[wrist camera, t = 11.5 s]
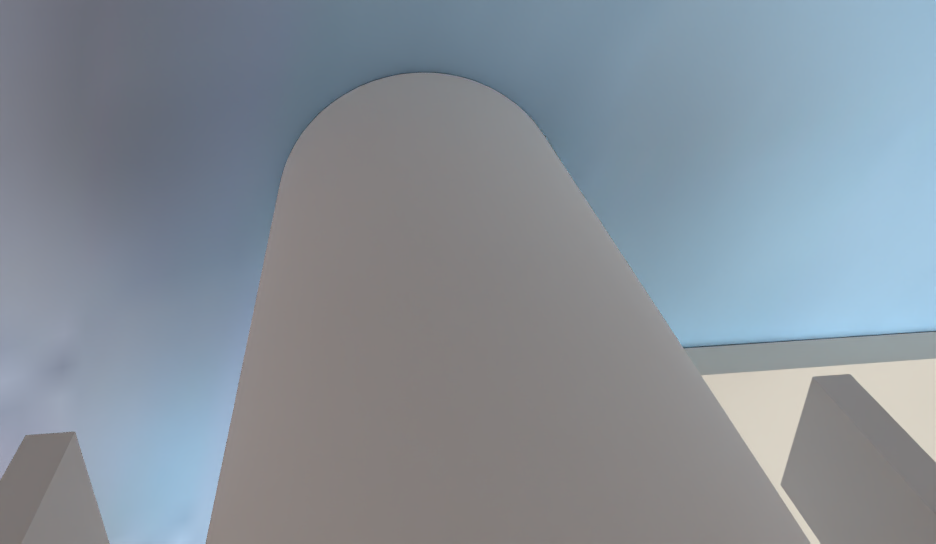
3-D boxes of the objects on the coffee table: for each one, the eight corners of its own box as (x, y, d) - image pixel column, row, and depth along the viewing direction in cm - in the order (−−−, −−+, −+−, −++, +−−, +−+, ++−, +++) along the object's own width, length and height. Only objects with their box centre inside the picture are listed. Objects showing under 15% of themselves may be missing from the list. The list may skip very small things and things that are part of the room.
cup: (540, 330, 24) (786, 961, 11) (282, 330, 23) (182, 1052, 9) (582, 80, 20) (1061, 576, 7) (272, 63, 19) (69, 639, 5)
